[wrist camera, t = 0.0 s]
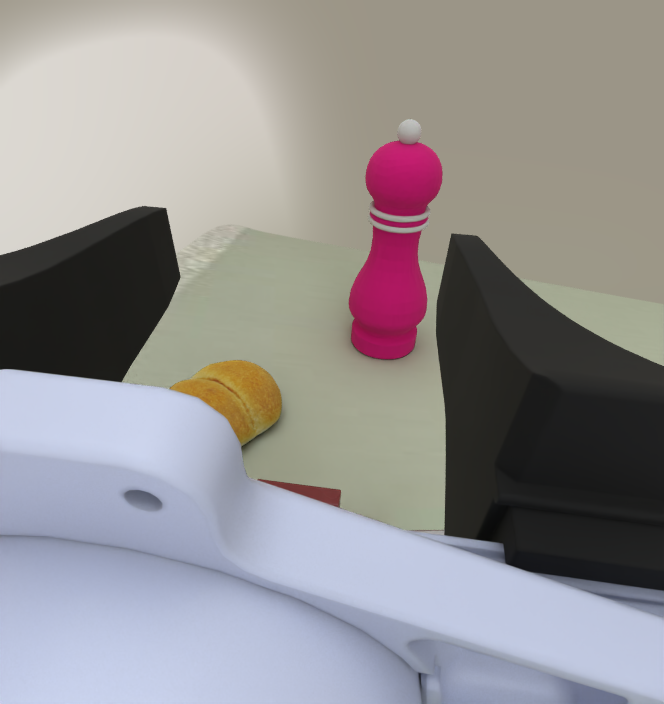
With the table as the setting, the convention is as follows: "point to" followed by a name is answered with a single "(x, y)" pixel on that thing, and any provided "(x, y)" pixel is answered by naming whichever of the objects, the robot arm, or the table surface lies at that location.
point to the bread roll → (237, 395)
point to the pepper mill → (395, 246)
